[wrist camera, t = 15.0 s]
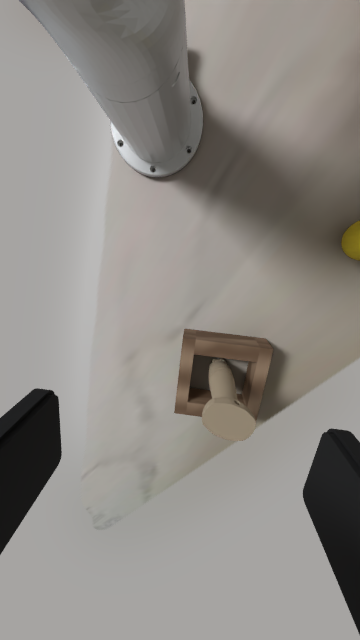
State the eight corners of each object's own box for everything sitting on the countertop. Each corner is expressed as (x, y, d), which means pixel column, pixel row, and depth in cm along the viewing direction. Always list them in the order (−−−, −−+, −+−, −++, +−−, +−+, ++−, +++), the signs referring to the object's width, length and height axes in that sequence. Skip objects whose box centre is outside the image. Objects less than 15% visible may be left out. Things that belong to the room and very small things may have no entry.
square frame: (184, 328, 41) (183, 338, 37) (265, 338, 41) (273, 349, 37) (176, 397, 46) (174, 412, 41) (250, 407, 45) (255, 424, 41)
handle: (208, 346, 42) (213, 396, 28) (240, 360, 42) (262, 417, 28) (196, 368, 43) (196, 427, 29) (228, 382, 44) (243, 447, 29)
